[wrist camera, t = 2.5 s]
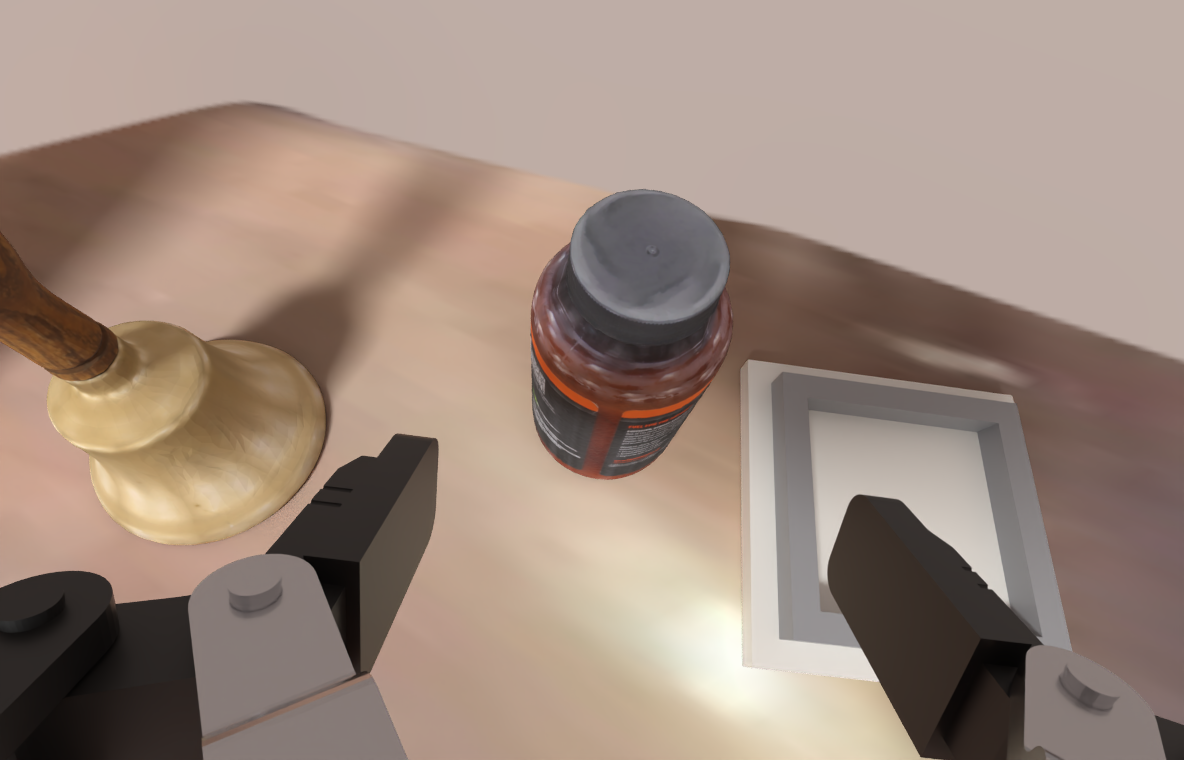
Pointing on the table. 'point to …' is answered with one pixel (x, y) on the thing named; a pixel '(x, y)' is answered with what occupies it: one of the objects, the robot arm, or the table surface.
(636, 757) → the table surface
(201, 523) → the hand bell
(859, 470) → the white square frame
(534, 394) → the supplement bottle
